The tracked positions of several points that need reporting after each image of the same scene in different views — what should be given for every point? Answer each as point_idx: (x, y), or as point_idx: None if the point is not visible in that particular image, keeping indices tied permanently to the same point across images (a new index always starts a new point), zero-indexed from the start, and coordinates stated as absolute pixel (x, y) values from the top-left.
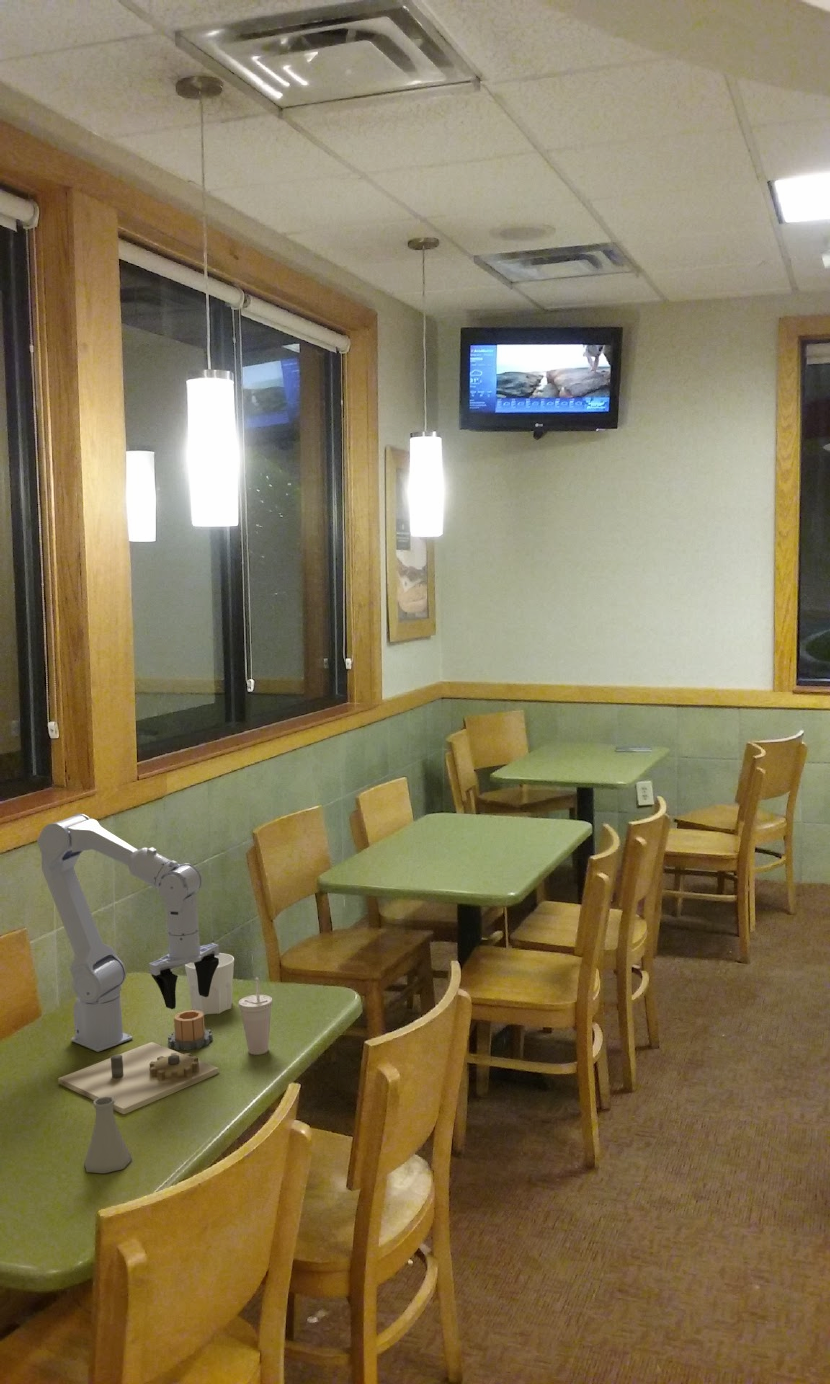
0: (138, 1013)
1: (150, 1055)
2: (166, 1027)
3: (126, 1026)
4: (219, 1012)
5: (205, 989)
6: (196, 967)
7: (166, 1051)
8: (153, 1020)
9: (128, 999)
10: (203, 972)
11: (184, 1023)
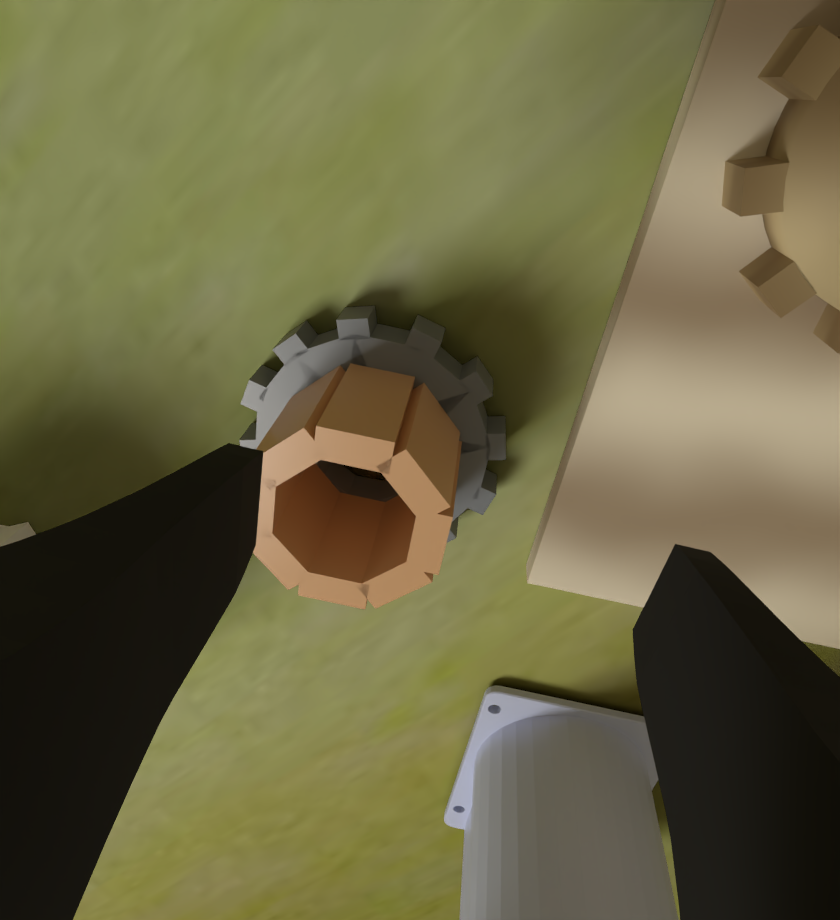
0: (259, 792)
1: (704, 481)
2: (301, 637)
3: (384, 767)
4: (22, 526)
5: (226, 503)
6: (89, 853)
7: (616, 435)
8: (276, 718)
9: (190, 870)
10: (104, 698)
11: (440, 484)
